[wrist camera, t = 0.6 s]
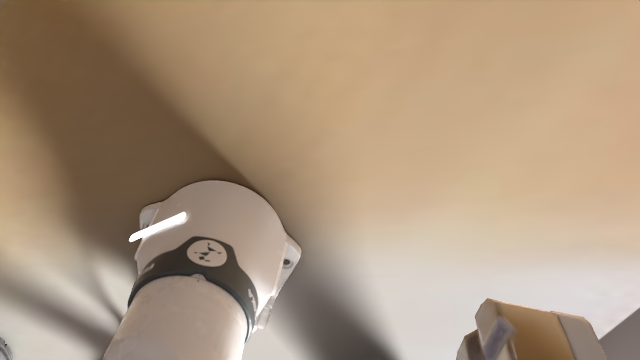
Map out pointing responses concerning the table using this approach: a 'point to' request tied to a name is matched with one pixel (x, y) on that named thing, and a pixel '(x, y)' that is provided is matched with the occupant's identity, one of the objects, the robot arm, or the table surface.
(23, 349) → the table surface
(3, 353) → the beverage bottle
